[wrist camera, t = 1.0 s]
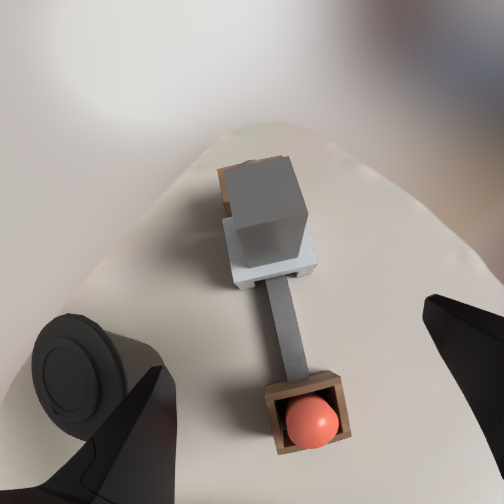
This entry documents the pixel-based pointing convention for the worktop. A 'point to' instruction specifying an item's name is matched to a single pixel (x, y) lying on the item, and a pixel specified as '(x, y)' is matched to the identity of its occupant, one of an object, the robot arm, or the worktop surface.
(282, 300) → the handrail
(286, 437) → the cabinet
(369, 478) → the worktop surface
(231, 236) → the plate
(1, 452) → the worktop surface
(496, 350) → the robot arm
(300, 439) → the gauge button
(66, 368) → the coffee cup
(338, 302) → the worktop surface
